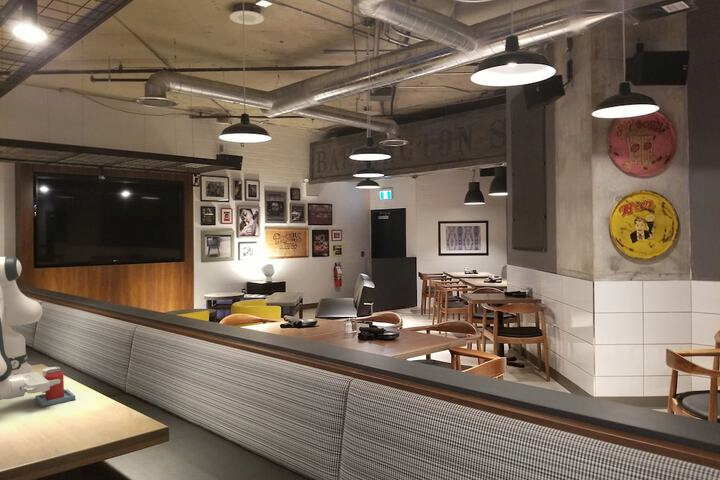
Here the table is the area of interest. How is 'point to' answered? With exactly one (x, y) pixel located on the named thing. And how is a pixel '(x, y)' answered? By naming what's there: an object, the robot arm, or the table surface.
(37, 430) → the table surface
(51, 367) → the white coffee cup
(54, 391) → the beer can
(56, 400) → the slate tray
